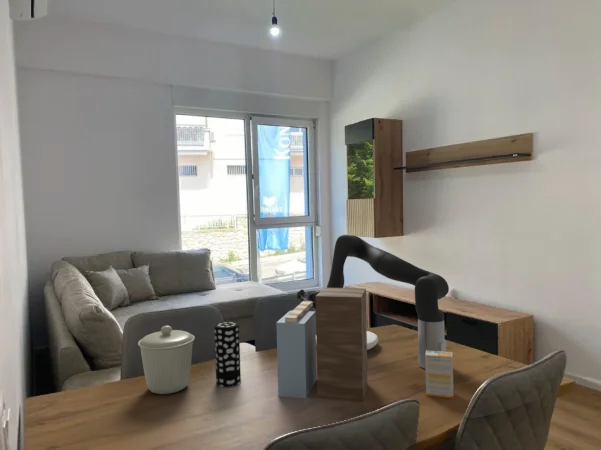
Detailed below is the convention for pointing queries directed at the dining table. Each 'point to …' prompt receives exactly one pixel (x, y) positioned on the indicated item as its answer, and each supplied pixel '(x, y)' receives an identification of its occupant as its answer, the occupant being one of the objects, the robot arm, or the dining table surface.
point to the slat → (298, 312)
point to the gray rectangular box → (296, 356)
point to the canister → (167, 360)
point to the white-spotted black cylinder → (227, 354)
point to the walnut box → (341, 343)
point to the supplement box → (439, 373)
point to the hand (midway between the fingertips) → (312, 291)
